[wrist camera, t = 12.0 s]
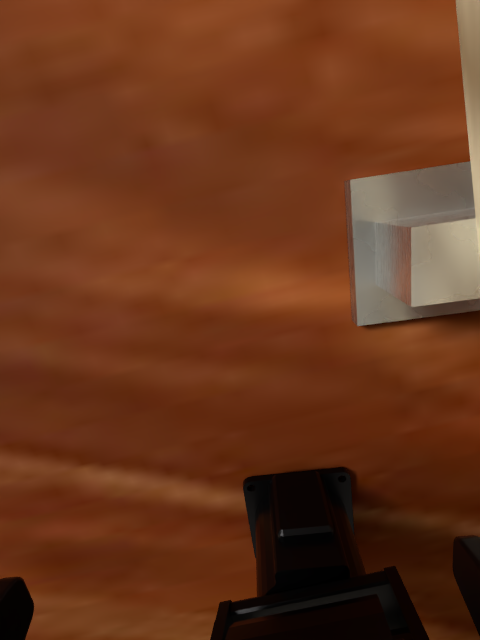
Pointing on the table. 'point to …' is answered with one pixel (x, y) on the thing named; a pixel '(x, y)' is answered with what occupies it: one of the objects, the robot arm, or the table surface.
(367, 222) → the ridge
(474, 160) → the maple beam
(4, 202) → the table surface
